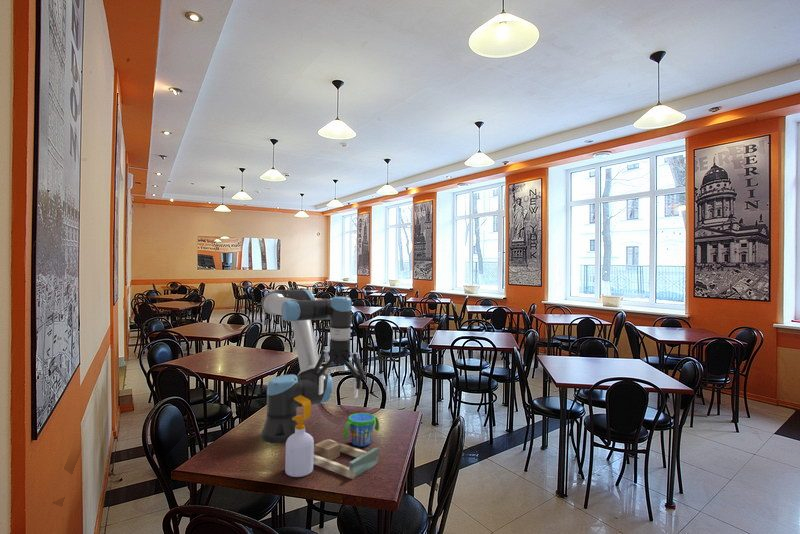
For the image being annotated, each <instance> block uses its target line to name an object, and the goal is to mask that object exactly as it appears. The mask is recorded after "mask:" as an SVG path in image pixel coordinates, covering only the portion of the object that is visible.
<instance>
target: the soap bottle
mask: <svg viewBox="0 0 800 534" xmlns="http://www.w3.org/2000/svg"><path fill="white" fill-rule="evenodd" d="M294 400H295V401H297V402H299V403H300V404H302V406H301V407H302V414H297V416H295V417H293V418H292V420H296V422H297V423H298V425H296V426H295V433H294V434H292V435H291V436H290V437H289V438H288V439H287V441H286V442H285V459H284V461H285V463H284V465H285V466H284V467H285V468H284V470H285V474H286V475H287V476H288V477H292V478H300V477H305V476H308V475H310V474H312V472H313V471H314V464H313V455H314V445H315V443H314V442H315V440H314V437H313V436H312V435H311V434H310V433H308V432H306V424H304V423H305V421H306V420H308V419H309V418H311V416H312V405H311V401H310V400H309V399H307V398H306V397H304V396H302V395H299V396H297V397H295V398H294Z"/></svg>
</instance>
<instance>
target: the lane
mask: <svg viewBox="0 0 800 534" xmlns="http://www.w3.org/2000/svg"><path fill="white" fill-rule="evenodd" d="M327 440H330V441H332V442H335V443H338V444H340V453H342V454H345V455H348V456H350V457H354V459H353V460H351V461H349V463H348V464H349V466H347V465H344V464H342V463H339V462H337V461H333V460H332V461H331V460H328V459H326V458H323V457H320V456H317V455H315V454H314V455H313V465H315V466H318V467H320V468H323V469H325V470H327V471H331V472H334V473H335V474H337V475H341V476H343V477H346V478H348V479H351V480H354V479H355V478H357V477H358V476H360V475H362V474H363V473H365V472H366V471H368V470H369V469H371V468H373V467H374V466H376V465H378V464H379V461H380V460H379V457H380V456H379V455H380V454H379V453H380V449H379V447H374V448H371V449H369V450H368V451H367V450H363V449H360V448H358V447H354V446H351V445H349V444H346V443H343V442H342V443H341V442H339V441H336V440H332V439H330V438H328V439H327Z"/></svg>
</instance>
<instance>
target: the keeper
mask: <svg viewBox="0 0 800 534" xmlns="http://www.w3.org/2000/svg"><path fill="white" fill-rule="evenodd" d="M330 440H331V439H330ZM330 440H327V439H324V440H322V441H319V442H318V443H316V444H315V443H314V454H315V455H317V456H320V457H323V458H326V459H328V460H331V461H333V460H335V459H337V458H339V457H340V456H341V452H340V444H338V443H335V442H332V441H330Z"/></svg>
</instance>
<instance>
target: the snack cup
mask: <svg viewBox="0 0 800 534" xmlns="http://www.w3.org/2000/svg"><path fill="white" fill-rule="evenodd" d="M348 428H349V432H350V439H351V443H352V445H353V446H356V447H366V446H368V445H371V443H372V439H373V433H374V430H375V431H377V432H378V431H379V430H380V423H379V419H378V417H377V416H375V415H374V414H372V413H367V412H358V413H357V412H356V413H352V414H350V415H349V416H348V420H347V422H346V423H345V424H344V428H343V432H342V436H343V438H344V440H348Z"/></svg>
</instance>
